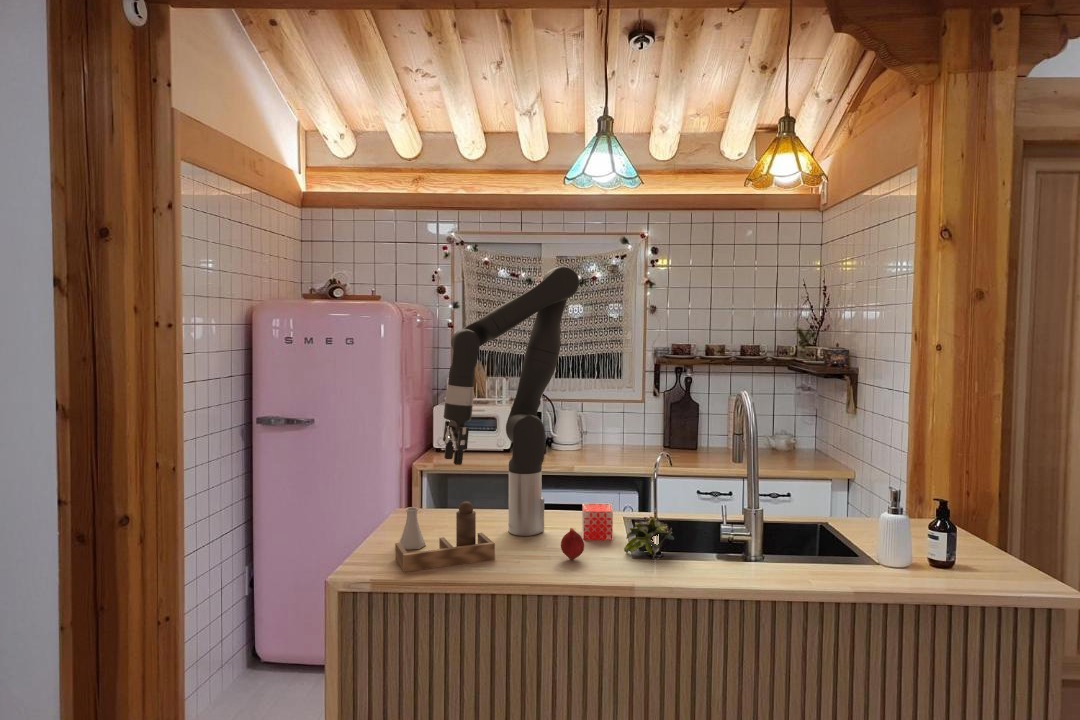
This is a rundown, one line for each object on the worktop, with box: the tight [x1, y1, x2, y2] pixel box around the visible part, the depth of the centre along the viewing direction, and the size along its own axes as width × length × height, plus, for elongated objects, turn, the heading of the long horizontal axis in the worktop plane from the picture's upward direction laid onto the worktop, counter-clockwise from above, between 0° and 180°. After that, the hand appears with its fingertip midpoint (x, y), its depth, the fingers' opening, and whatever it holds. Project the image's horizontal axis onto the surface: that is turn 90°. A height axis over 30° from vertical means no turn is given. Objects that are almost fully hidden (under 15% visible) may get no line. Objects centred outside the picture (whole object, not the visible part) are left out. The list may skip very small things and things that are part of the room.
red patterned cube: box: [581, 503, 614, 541], centre depth 192 cm, size 8×8×8 cm
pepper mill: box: [455, 500, 477, 547], centre depth 175 cm, size 5×5×14 cm
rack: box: [394, 532, 496, 573], centre depth 173 cm, size 23×10×4 cm, turn 114°
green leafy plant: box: [623, 516, 675, 560], centre depth 177 cm, size 11×11×12 cm
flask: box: [398, 506, 426, 551], centre depth 182 cm, size 7×7×10 cm
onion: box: [560, 527, 585, 561], centre depth 172 cm, size 6×6×8 cm
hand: (452, 461), depth 190 cm, fingers open, 8 cm apart
